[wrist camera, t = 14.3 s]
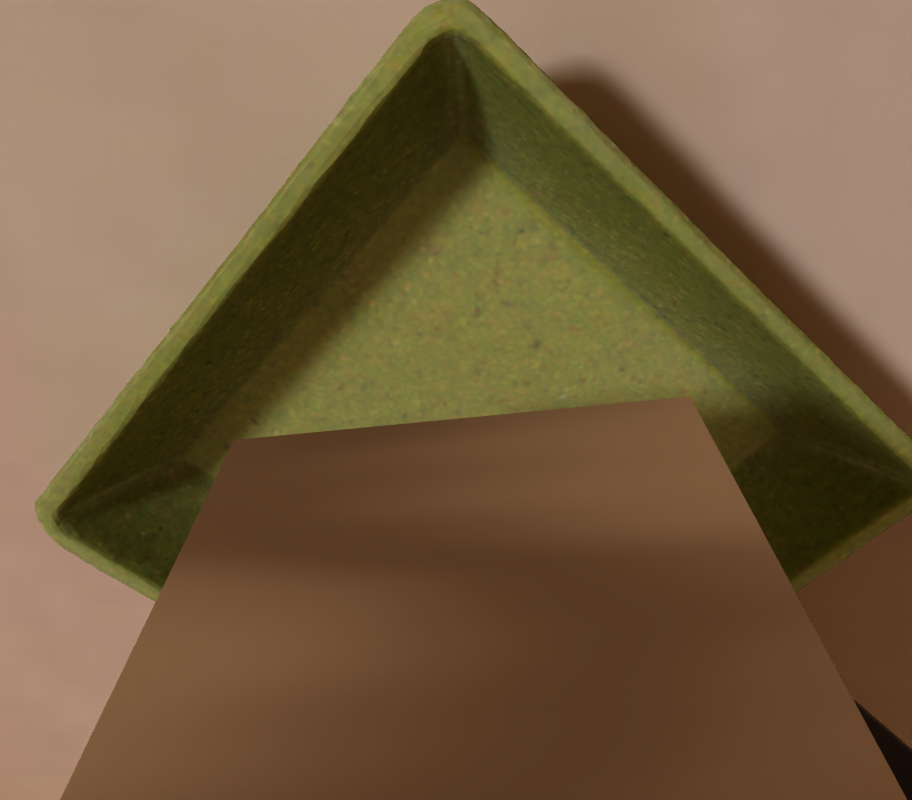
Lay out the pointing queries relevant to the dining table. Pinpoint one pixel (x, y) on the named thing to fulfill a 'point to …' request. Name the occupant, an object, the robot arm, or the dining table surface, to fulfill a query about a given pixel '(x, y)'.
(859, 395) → the green square dish
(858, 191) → the dining table surface
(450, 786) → the block
